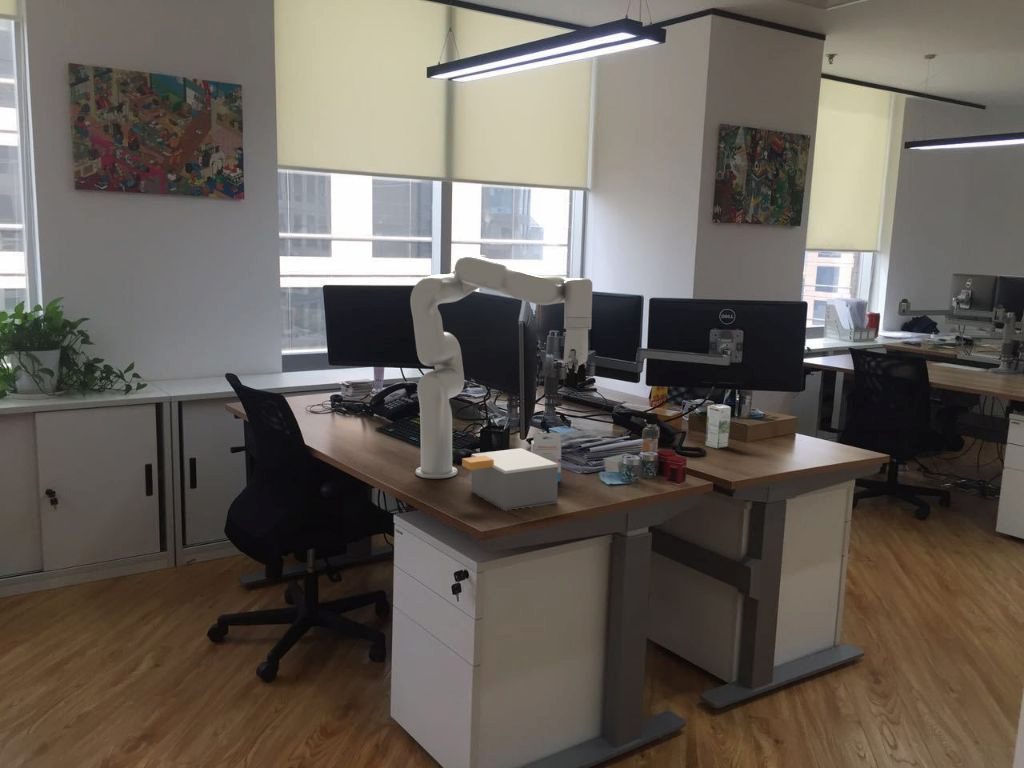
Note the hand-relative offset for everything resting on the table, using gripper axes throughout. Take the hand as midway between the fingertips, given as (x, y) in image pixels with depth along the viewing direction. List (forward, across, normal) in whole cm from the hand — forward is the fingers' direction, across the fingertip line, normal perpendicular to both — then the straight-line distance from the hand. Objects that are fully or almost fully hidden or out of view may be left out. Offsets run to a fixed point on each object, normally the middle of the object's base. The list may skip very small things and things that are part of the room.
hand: (576, 384), depth 238 cm
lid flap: (+21, +14, -17) cm, 30 cm away
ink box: (+31, -8, -10) cm, 34 cm away
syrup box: (+31, -70, +35) cm, 84 cm away
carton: (+31, +12, -14) cm, 36 cm away
